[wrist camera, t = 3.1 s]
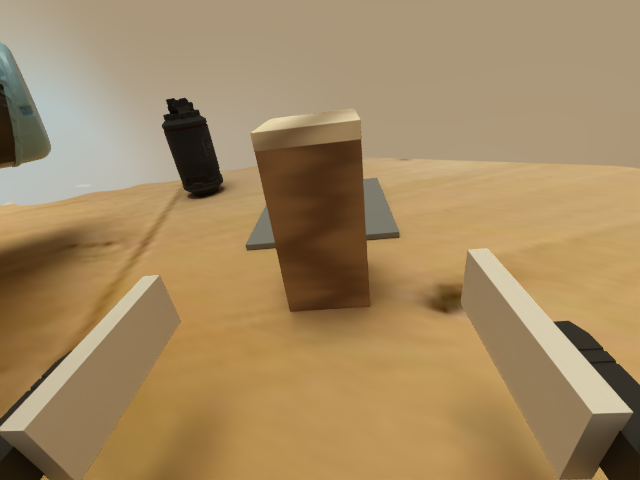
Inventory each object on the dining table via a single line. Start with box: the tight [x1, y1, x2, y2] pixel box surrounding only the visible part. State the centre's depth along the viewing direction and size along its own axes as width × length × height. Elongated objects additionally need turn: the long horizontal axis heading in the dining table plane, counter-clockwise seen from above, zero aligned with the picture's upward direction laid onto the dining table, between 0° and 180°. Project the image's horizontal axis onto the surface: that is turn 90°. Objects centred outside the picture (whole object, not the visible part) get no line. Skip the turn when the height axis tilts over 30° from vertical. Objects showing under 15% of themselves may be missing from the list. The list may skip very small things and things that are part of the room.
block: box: [250, 109, 370, 312], centre depth 22 cm, size 6×6×13 cm
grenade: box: [162, 98, 223, 196], centre depth 49 cm, size 7×7×15 cm
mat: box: [246, 178, 399, 250], centre depth 39 cm, size 16×18×1 cm
